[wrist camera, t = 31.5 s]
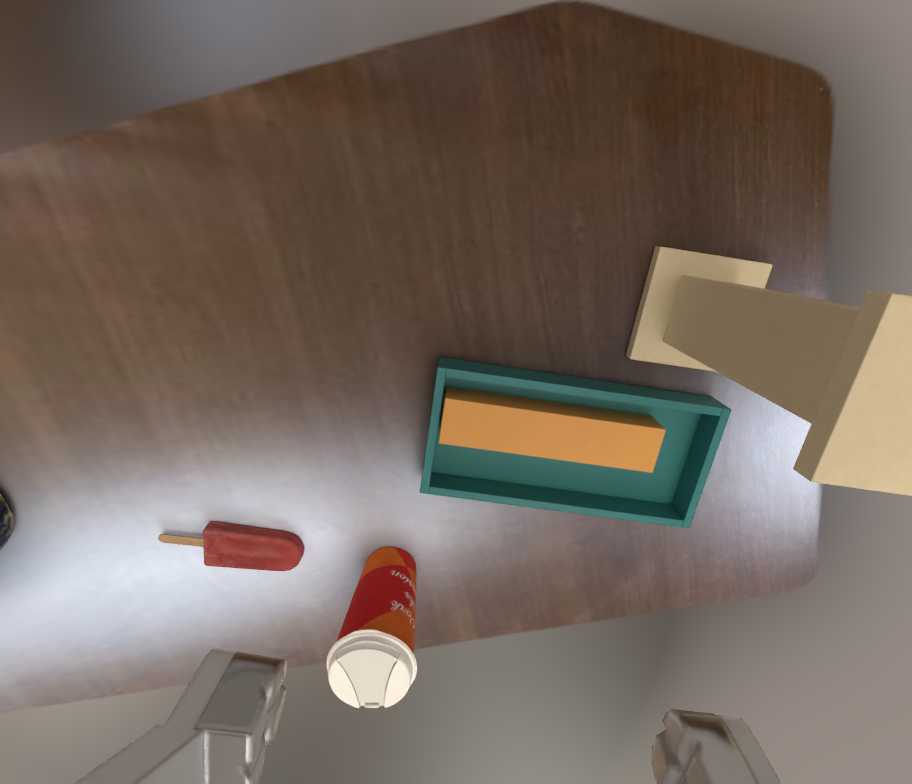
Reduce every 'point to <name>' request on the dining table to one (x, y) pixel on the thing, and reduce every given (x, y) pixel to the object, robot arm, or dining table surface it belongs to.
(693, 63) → the dining table surface
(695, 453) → the tray
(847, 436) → the stand
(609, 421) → the orange rectangular bar
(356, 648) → the paper cup
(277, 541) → the popsicle
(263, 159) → the dining table surface
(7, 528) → the jug
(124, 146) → the dining table surface
